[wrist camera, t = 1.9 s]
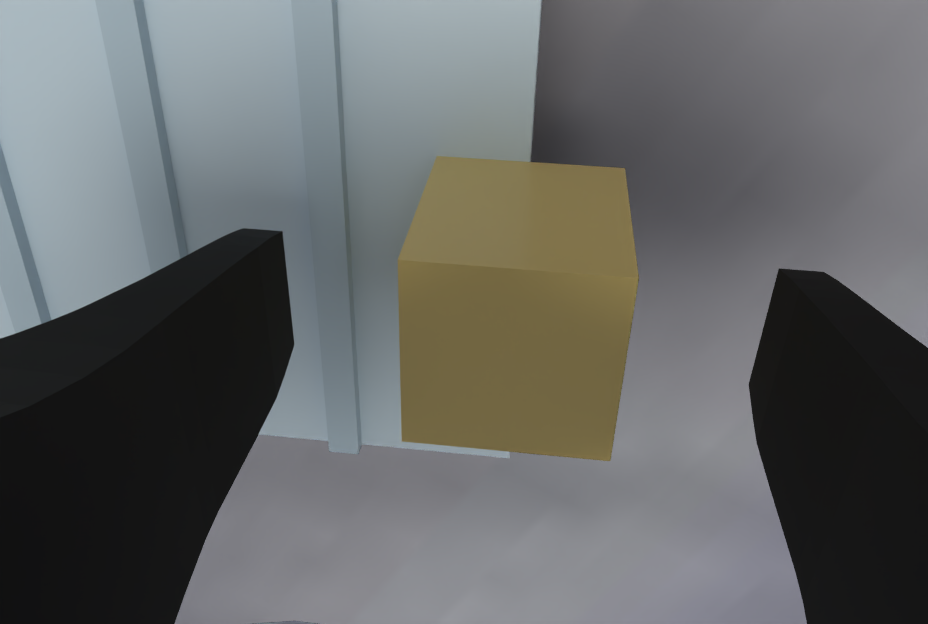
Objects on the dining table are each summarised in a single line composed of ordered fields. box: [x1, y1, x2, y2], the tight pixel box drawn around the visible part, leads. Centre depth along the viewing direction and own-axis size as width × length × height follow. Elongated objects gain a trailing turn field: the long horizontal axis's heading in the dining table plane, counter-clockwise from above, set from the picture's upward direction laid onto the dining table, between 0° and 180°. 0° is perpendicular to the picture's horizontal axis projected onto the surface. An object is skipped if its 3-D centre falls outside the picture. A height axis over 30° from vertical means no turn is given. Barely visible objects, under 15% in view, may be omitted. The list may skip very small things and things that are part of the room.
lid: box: [0, 0, 639, 461], centre depth 13 cm, size 10×14×4 cm
